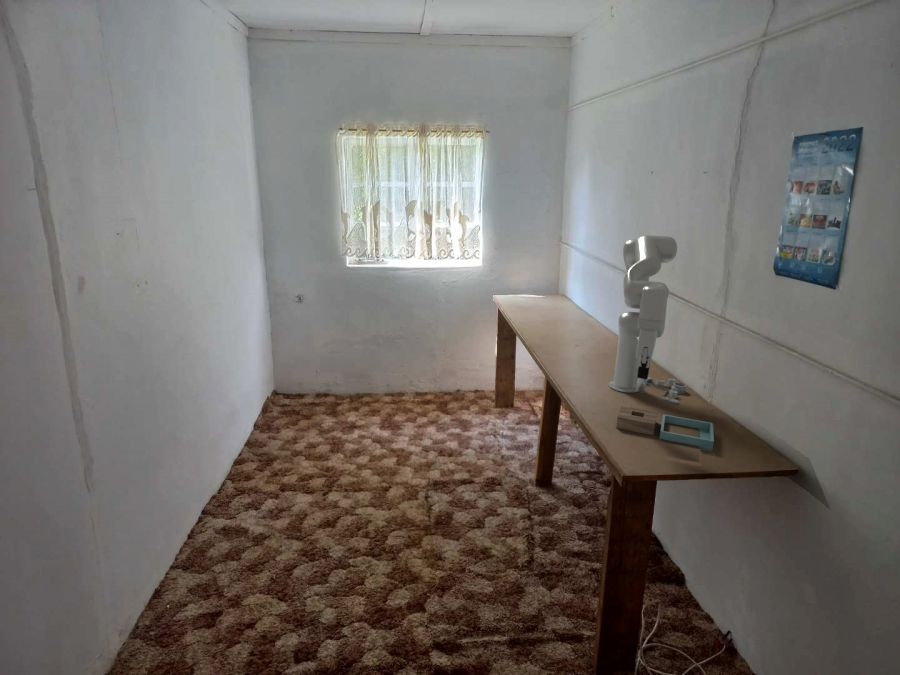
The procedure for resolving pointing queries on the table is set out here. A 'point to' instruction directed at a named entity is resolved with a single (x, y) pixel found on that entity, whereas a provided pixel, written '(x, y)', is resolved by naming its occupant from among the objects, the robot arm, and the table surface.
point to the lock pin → (641, 384)
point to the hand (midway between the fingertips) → (642, 376)
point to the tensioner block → (636, 419)
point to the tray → (703, 441)
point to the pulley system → (675, 389)
